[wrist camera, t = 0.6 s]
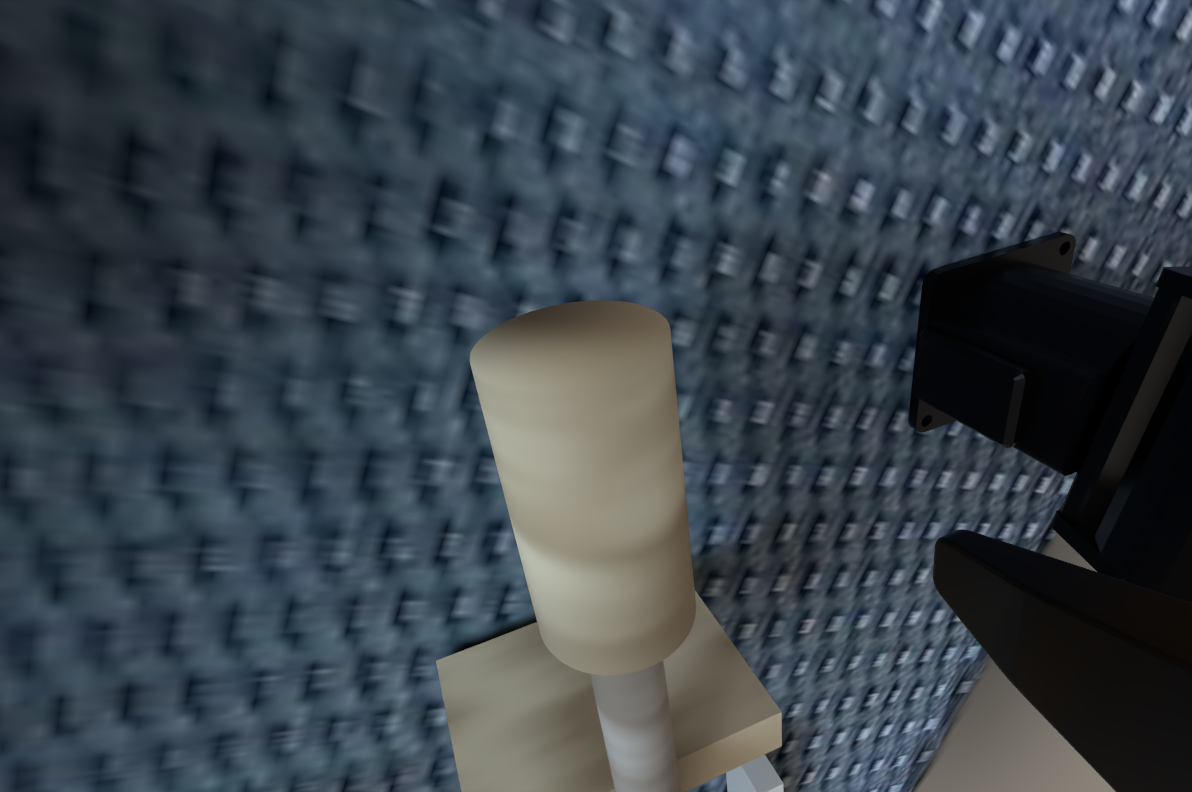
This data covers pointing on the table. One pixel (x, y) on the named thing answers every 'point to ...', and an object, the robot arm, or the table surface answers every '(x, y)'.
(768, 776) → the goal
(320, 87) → the table surface
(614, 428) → the rod
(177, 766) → the table surface
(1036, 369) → the robot arm
